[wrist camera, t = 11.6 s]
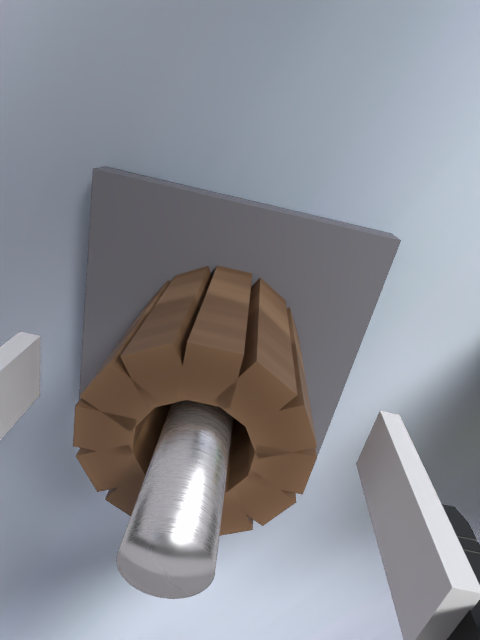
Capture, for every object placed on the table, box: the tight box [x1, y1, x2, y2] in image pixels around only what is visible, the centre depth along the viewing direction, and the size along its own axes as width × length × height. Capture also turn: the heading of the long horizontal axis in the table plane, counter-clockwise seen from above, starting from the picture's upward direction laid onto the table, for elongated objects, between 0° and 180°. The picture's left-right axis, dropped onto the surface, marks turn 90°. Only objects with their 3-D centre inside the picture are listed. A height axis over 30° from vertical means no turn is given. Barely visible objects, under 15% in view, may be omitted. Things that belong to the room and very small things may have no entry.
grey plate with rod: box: [79, 167, 401, 599], centre depth 16 cm, size 14×14×14 cm
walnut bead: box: [73, 265, 317, 536], centre depth 17 cm, size 8×8×8 cm
